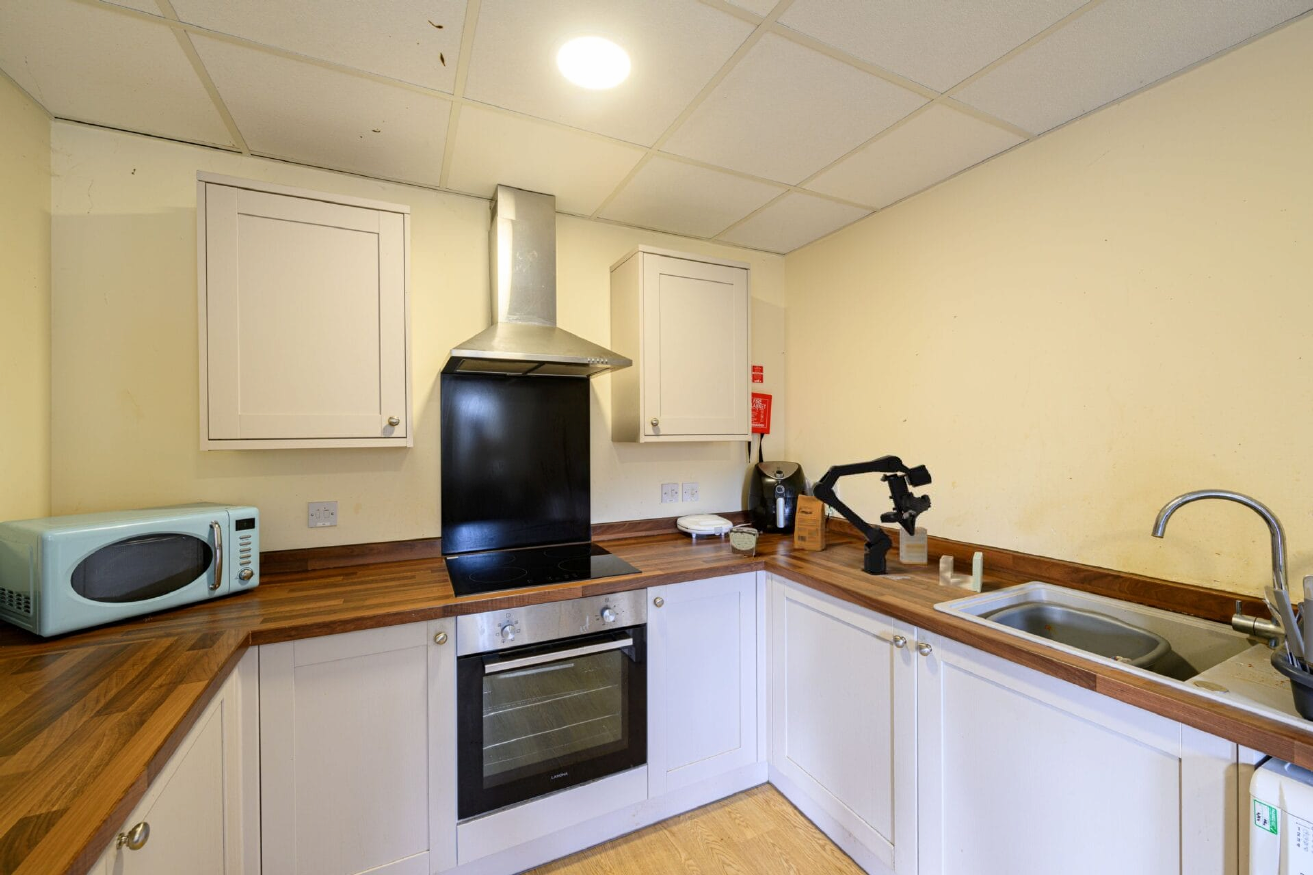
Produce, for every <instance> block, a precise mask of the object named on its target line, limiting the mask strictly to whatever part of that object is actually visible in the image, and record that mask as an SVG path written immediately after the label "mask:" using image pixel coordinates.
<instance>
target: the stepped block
mask: <svg viewBox="0 0 1313 875" xmlns="http://www.w3.org/2000/svg"><path fill="white" fill-rule="evenodd" d="M939 586H941V587H942V586H943V587H949V588H953V589H954V588H955V589H962V590H966V591H967V590H969V591H972V589H973V575H967V574H960V573H959V574H958V573H954V556H953V555H952V556H951V555H943V554H942V556H941V557H940V559H939Z"/></svg>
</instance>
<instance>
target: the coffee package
mask: <svg viewBox="0 0 1313 875" xmlns="http://www.w3.org/2000/svg"><path fill="white" fill-rule="evenodd" d="M825 507H826V504H825V503H824V502H822V501H820V500H818V499H817V498H816V497H815V496H814V495H812V496H809V495H804V494H798V498H797V505H796V513H795V522H794V525H795V526H794V533H793V543H794V544H793V546H794V547H793V548H794V549H795V548H796V549H797V550H798V549H799V550H800V549H801V550H805V551H808V550H809V551H811V552H821V551H822V550H824V549H825V548H826V538H825V532H826V530H825V529H826V528H825V527H826V508H825ZM796 549H795V550H796ZM809 551H808V552H809Z"/></svg>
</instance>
